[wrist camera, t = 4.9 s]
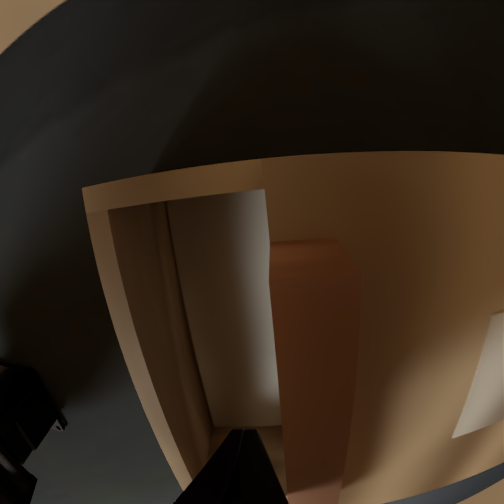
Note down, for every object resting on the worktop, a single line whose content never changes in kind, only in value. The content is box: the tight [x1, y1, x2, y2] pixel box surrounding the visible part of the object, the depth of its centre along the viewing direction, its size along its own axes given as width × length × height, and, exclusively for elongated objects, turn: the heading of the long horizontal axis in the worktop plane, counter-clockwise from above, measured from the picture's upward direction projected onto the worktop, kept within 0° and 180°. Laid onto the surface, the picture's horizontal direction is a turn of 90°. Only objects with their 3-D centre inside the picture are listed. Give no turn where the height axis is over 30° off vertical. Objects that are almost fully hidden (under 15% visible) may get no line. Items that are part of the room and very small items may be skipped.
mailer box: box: [82, 151, 502, 500], centre depth 13 cm, size 18×16×6 cm
